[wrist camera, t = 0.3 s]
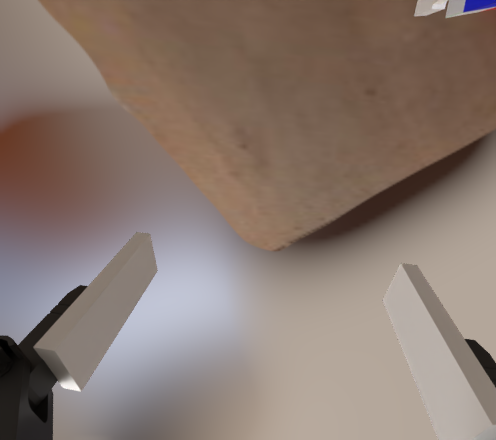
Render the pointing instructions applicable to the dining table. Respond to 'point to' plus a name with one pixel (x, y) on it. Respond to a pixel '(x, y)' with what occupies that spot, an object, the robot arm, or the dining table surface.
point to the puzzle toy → (468, 7)
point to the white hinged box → (427, 7)
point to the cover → (438, 2)
